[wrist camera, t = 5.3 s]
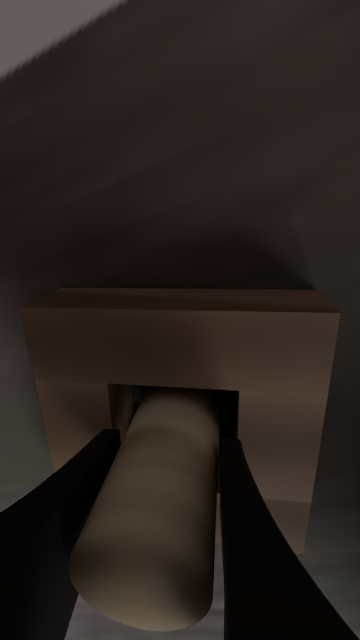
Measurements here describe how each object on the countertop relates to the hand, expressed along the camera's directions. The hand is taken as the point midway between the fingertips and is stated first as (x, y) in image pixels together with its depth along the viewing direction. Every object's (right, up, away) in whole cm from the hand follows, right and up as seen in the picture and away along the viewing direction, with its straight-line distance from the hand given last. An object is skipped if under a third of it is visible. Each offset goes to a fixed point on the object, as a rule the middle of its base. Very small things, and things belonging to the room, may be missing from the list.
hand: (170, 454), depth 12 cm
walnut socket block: (+1, +1, +3) cm, 4 cm away
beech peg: (0, +1, +2) cm, 3 cm away
